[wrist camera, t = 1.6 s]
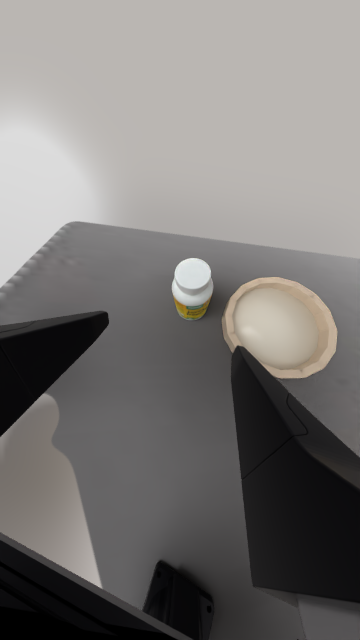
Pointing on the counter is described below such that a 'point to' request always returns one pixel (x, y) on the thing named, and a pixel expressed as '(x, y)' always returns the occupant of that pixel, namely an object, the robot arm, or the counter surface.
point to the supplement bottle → (192, 288)
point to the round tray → (281, 326)
